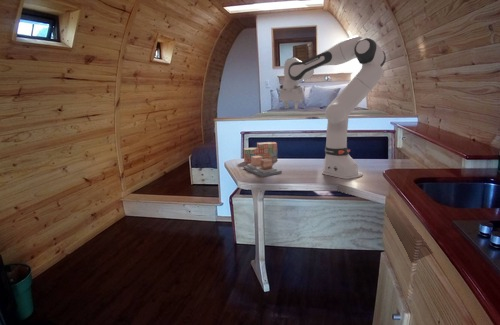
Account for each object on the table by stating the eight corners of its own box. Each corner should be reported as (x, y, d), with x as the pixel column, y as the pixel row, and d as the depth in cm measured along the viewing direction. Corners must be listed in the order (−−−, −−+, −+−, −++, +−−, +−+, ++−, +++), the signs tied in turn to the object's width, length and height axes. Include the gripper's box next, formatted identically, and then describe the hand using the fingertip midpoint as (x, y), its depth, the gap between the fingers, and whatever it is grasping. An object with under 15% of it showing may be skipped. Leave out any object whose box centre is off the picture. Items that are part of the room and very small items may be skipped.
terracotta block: (272, 170, 179) (272, 160, 178) (264, 171, 177) (264, 161, 175) (267, 168, 183) (267, 158, 182) (260, 169, 181) (260, 159, 180)
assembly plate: (281, 173, 178) (281, 160, 176) (262, 176, 172) (261, 163, 170) (261, 165, 197) (261, 153, 195) (243, 168, 191) (242, 156, 189)
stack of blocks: (245, 163, 203) (244, 145, 200) (244, 161, 209) (243, 143, 206) (277, 161, 206) (277, 143, 204) (275, 159, 212) (275, 141, 210)
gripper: (305, 85, 186) (305, 108, 190) (286, 86, 204) (286, 107, 207) (297, 85, 184) (297, 109, 187) (277, 86, 201) (278, 108, 204)
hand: (291, 108), depth 197 cm, fingers open, 8 cm apart
